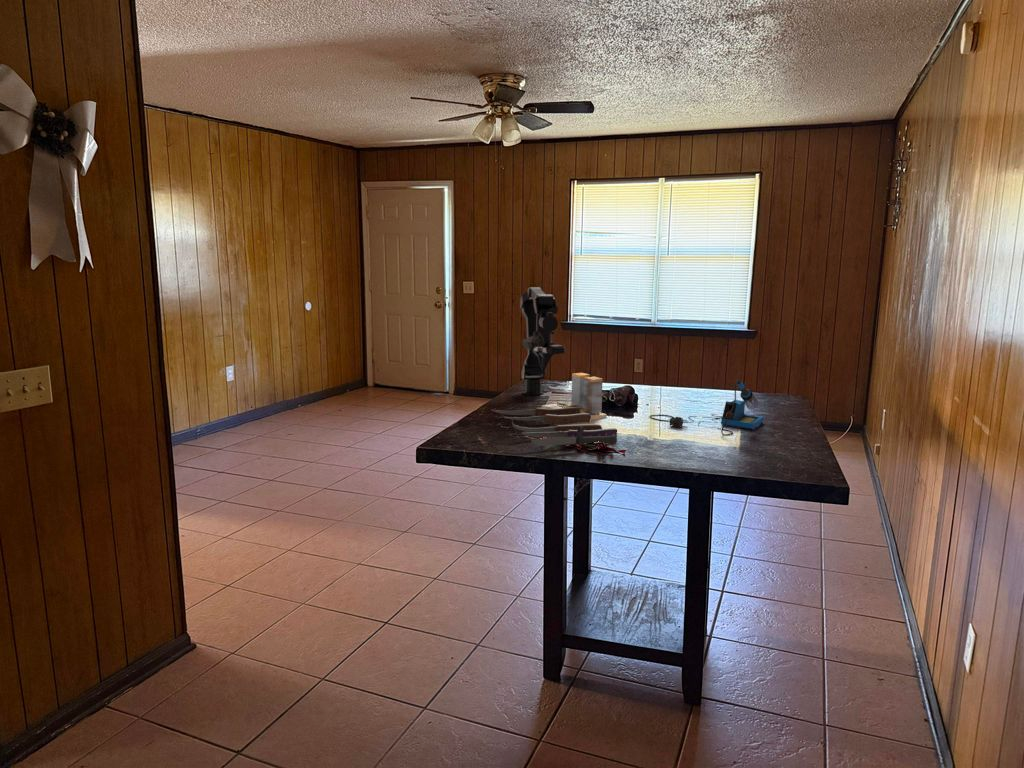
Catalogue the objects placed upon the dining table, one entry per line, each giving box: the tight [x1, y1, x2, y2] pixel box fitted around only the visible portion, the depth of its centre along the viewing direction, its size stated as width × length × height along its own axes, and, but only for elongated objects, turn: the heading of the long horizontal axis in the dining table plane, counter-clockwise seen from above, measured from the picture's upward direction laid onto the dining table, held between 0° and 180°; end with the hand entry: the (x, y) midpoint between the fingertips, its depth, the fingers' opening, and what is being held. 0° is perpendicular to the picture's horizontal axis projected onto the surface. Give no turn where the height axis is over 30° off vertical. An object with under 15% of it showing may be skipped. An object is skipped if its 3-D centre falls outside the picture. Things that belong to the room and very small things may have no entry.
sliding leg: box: [563, 372, 591, 408], centre depth 248 cm, size 4×10×12 cm, turn 125°
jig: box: [540, 376, 607, 421], centre depth 249 cm, size 23×11×14 cm, turn 35°
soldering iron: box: [648, 379, 764, 436], centre depth 239 cm, size 35×31×18 cm
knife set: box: [490, 407, 618, 447], centre depth 219 cm, size 35×33×8 cm
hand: (543, 369), depth 262 cm, fingers closed
